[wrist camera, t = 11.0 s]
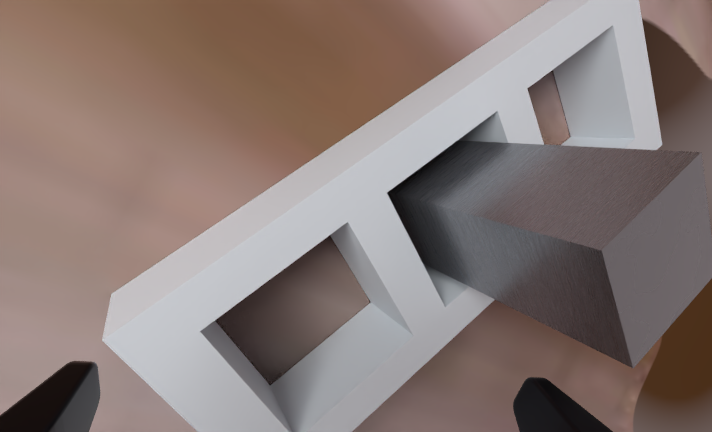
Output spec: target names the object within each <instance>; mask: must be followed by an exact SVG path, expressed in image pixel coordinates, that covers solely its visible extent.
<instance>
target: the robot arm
mask: <svg viewBox="0 0 712 432" xmlns="http://www.w3.org/2000/svg"><path fill="white" fill-rule="evenodd" d="M99 399H100V385H99V375H98V367H97V364H96V363H95V362H87V361H72V362H70V363H68V364H66V365H65V366H64V367H62V368H61V369H60V370H58V371H57V372H56V373H54V374H53V375H52V376H51V377H49V378H48V379H47V380H45V381H44V382H43V383H42V384H40V385H39V386H38V387H36V388H35V389H34V390H32V391H31V392H30V393H29V394H27V395H26V396H25V397H23V398H22V399H21V400H20V401H18V402H17V403H16V404H14V405H13V406H12V407H10V408H9V409H8V410H7V411H5V412H4V413H3V414H1V415H0V432H89V430H90V427H91V424H92V421H93V418H94V415H95V413H96V410H97V407H98V403H99ZM513 409H514V414H515V417H516V421H517V424H518V427H519V431H520V432H613V431H611V430H610V429H609V428H608V427H606V426H605V425H604V424H603V423H601V422H600V421H599V420H598V419H596V418H595V417H594V416H593V415H591V414H590V413H589V412H588V411H586V410H585V409H584V408H583V407H581V406H580V405H579V404H577V403H576V402H575V401H574V400H572V399H571V398H570V397H569V396H567V395H566V394H565V393H564V392H562V391H561V390H560V389H559V388H557V387H556V386H555V385H554V384H552V383H551V382H550V381H548V380H547V379H545V378H536V377H530V378H527V379H526V380H525V381H524V383H523V385H522V387H521V388H520V390H519V392H518V394H517V396H516V398H515V399H514V403H513Z"/></svg>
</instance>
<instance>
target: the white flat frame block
mask: <svg viewBox="0 0 712 432" xmlns="http://www.w3.org/2000/svg"><path fill="white" fill-rule="evenodd" d="M552 70H553V73H554V76H555V80H556V84H557V88H558V91H559V95H560V99H561V103H562V106H563V110H564V114H565V118H566V121H567V125H568V129H569V133H570V136H571V137H570V138H569V139H568V140H566V141H565V142H564V143H563V144H562V146H582V147H603V148H623V149H644V150H657V149H658V148H659V147H660V146H661V145H662V140H661V134H660V127H659V121H658V116H657V109H656V103H655V97H654V91H653V85H652V79H651V73H650V66H649V61H648V54H647V48H646V42H645V36H644V30H643V24H642V17H641V11H640V5H639V0H550V1H549V2H547V3H546V4H544V5H543V6H541V7H540V8H538V9H537V10H535V11H534V12H532V13H531V14H529V15H528V16H526V17H525V18H523V19H522V20H520V21H519V22H517V23H516V24H514V25H513V26H511V27H510V28H508V29H507V30H505V31H504V32H502V33H501V34H499V35H498V36H496V37H495V38H493V39H492V40H490V41H489V42H487V43H486V44H484V45H483V46H481V47H480V48H478V49H477V50H475V51H474V52H472V53H471V54H470V55H468V56H467V57H465V58H464V59H462V60H461V61H459V62H458V63H456V64H455V65H453V66H452V67H450V68H449V69H447V70H446V71H444V72H443V73H441V74H440V75H438V76H437V77H435V78H434V79H432V80H431V81H429V82H428V83H426V84H425V85H423V86H422V87H420V88H419V89H417V90H416V91H414V92H413V93H411V94H410V95H408V96H407V97H405V98H404V99H402V100H401V101H399V102H398V103H396V104H395V105H393V106H392V107H390V108H389V109H387V110H386V111H384V112H383V113H381V114H380V115H378V116H377V117H375V118H374V119H372V120H371V121H369V122H368V123H366V124H365V125H363V126H362V127H360V128H359V129H357V130H356V131H354V132H353V133H351V134H350V135H348V136H347V137H345V138H344V139H342V140H341V141H339V142H338V143H336V144H335V145H333V146H332V147H330V148H329V149H327V150H326V151H324V152H323V153H321V154H320V155H318V156H317V157H315V158H314V159H312V160H311V161H309V162H308V163H306V164H305V165H303V166H302V167H300V168H299V169H298V170H296V171H295V172H293V173H292V174H290V175H289V176H287V177H286V178H284V179H283V180H281V181H280V182H278V183H277V184H275V185H274V186H272V187H271V188H269V189H268V190H266V191H265V192H263V193H262V194H260V195H259V196H257V197H256V198H254V199H253V200H251V201H250V202H248V203H247V204H245V205H244V206H242V207H241V208H239V209H238V210H236V211H235V212H233V213H232V214H230V215H229V216H227V217H226V218H224V219H223V220H221V221H220V222H218V223H217V224H215V225H214V226H212V227H211V228H209V229H208V230H206V231H205V232H203V233H202V234H200V235H199V236H197V237H196V238H194V239H193V240H191V241H190V242H188V243H187V244H185V245H184V246H182V247H181V248H179V249H178V250H176V251H175V252H173V253H172V254H170V255H169V256H167V257H166V258H164V259H163V260H161V261H160V262H158V263H157V264H155V265H154V266H152V267H151V268H149V269H148V270H146V271H145V272H143V273H142V274H140V275H139V276H137V277H136V278H134V279H133V280H131V281H130V282H128V283H127V284H125V285H124V286H123V287H121V288H120V289H118V290H117V291H115V292H114V293H112V294H111V299H110V304H109V309H108V314H107V319H106V324H105V329H104V334H103V339H102V341H103V342H104V343H106V344H107V345H108V346H109V347H110V348H111V349H112V350H113V351H114V352H115V353H116V354H117V355H118V356H119V357H120V358H121V359H122V360H123V361H124V362H125V363H126V364H127V365H128V366H130V367H131V368H132V369H133V370H134V371H135V372H136V373H137V374H138V375H139V376H140V377H141V378H142V379H143V380H144V381H145V382H146V383H147V384H148V385H149V386H150V387H151V388H152V389H154V390H155V391H156V392H157V393H158V394H159V395H160V396H161V397H162V398H163V399H164V400H165V401H166V402H167V403H168V404H169V405H170V406H171V407H172V408H173V409H174V410H175V411H176V412H178V413H179V414H180V415H181V416H182V417H183V418H184V419H185V420H186V421H187V422H188V423H189V424H190V425H191V426H192V427H193V428H194V429H195V430H196V431H197V432H352V431H353V430H354V429H355V428H356V427H358V426H359V425H360V424H361V423H362V422H363V421H364V420H365V419H366V418H367V417H368V416H369V415H370V414H372V413H373V412H374V411H375V410H376V409H377V408H378V407H379V406H380V405H381V404H382V403H383V402H385V401H386V400H387V399H388V398H389V397H390V396H391V395H392V394H393V393H394V392H395V391H396V390H398V389H399V388H400V387H401V386H402V385H403V384H404V383H405V382H406V381H407V380H408V379H409V378H410V377H412V376H413V375H414V374H415V373H416V372H417V371H418V370H419V369H420V368H421V367H422V366H423V365H425V364H426V363H427V362H428V361H429V360H430V359H431V358H432V357H433V356H434V355H435V354H436V353H438V352H439V351H440V350H441V349H442V348H443V347H444V346H445V345H446V344H447V343H448V342H449V341H451V340H452V339H453V338H454V337H455V336H456V335H457V334H458V333H459V332H460V331H461V330H462V329H463V328H465V327H466V326H467V325H468V324H469V323H470V322H471V321H472V320H473V319H474V318H475V317H476V316H478V315H479V314H480V313H481V312H482V311H483V310H484V309H485V308H486V307H487V306H488V305H489V304H491V303H492V302H493V301H494V300H495V299H493V298H491V297H489V296H487V295H485V294H483V293H481V292H479V291H477V290H475V289H473V288H471V287H469V286H467V285H465V284H463V283H461V282H459V281H457V280H455V279H453V278H451V277H449V276H447V275H445V274H443V273H441V272H439V271H437V270H435V269H433V268H431V267H429V266H427V265H425V264H423V263H422V261H421V259H420V257H419V255H418V253H417V251H416V249H415V247H414V245H413V243H412V241H411V239H410V237H409V235H408V233H407V232H406V230H405V228H404V226H403V224H402V222H401V220H400V218H399V216H398V214H397V212H396V210H395V208H394V206H393V204H392V202H391V200H390V198H389V196H388V194H387V192H389V191H390V190H391V189H393V188H394V187H395V186H397V185H398V184H399V183H401V182H402V181H403V180H405V179H406V178H407V177H409V176H410V175H411V174H413V173H414V172H416V171H417V170H418V169H420V168H421V167H422V166H424V165H425V164H426V163H428V162H429V161H430V160H432V159H433V158H434V157H436V156H437V155H438V154H440V153H441V152H442V151H444V150H445V149H447V148H448V147H449V146H451V145H452V144H453V143H455V142H456V141H457V140H459V141H480V142H500V143H521V144H541V145H544V143H543V139H542V136H541V133H540V129H539V126H538V123H537V119H536V116H535V113H534V109H533V106H532V103H531V99H530V96H529V93H528V89H527V88H529V87H530V86H531V85H533V84H534V83H535V82H537V81H538V80H540V79H541V78H542V77H544V76H545V75H546V74H548V73H549V72H550V71H552ZM329 235H330V236H331V238H332V239H333V241H334V243H335V244H336V246H337V248H338V249H339V251H340V253H341V254H342V256H343V258H344V259H345V261H346V262H347V264H348V266H349V267H350V269H351V271H352V272H353V274H354V276H355V277H356V279H357V280H358V282H359V284H360V285H361V287H362V289H363V290H364V292H365V294H366V295H367V297H368V299H369V300H370V302H371V303H369V304H368V305H367V306H366V307H365V308H363V309H362V310H361V311H360V312H358V313H357V314H356V315H355V316H354V317H352V318H351V319H350V320H349V321H348V322H346V323H345V324H344V325H343V326H342V327H340V328H339V329H338V330H337V331H336V332H334V333H333V334H332V335H331V336H329V337H328V338H327V339H326V340H325V341H323V342H322V343H321V344H320V345H319V346H317V347H316V348H315V349H314V350H313V351H311V352H310V353H309V354H308V355H306V356H305V357H304V358H303V359H302V360H300V361H299V362H298V363H297V364H296V365H294V366H293V367H292V368H291V369H290V370H288V371H287V372H286V373H285V374H284V375H282V376H281V377H280V378H279V379H277V380H276V381H275V382H274V383H273V384H271V385H269V384H268V382H267V381H266V380H265V379H264V378H263V377H262V375H261V374H260V373H259V372H258V371H257V370H256V368H255V367H254V366H253V365H252V364H251V363H250V361H249V360H248V359H247V358H246V357H245V355H244V354H243V353H242V352H241V351H240V350H239V348H238V347H237V346H236V345H235V344H234V343H233V341H232V340H231V339H230V338H229V337H228V335H227V334H226V333H225V332H224V331H223V330H222V328H221V327H220V326H219V325H218V324H217V323H216V321H215V320H216V319H217V318H219V317H220V316H221V315H223V314H224V313H226V312H227V311H228V310H230V309H231V308H232V307H234V306H235V305H236V304H238V303H239V302H240V301H242V300H243V299H244V298H246V297H247V296H248V295H250V294H251V293H252V292H254V291H255V290H257V289H258V288H259V287H261V286H262V285H263V284H265V283H266V282H267V281H269V280H270V279H271V278H273V277H274V276H275V275H277V274H278V273H279V272H281V271H282V270H283V269H285V268H286V267H288V266H289V265H290V264H292V263H293V262H294V261H296V260H297V259H298V258H300V257H301V256H302V255H304V254H305V253H306V252H308V251H309V250H310V249H312V248H313V247H314V246H316V245H317V244H319V243H320V242H321V241H323V240H324V239H325V238H327V237H328V236H329Z"/></svg>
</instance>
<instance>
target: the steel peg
mask: <svg viewBox="0 0 712 432" xmlns="http://www.w3.org/2000/svg"><path fill="white" fill-rule="evenodd" d="M387 194H388V196H389V198H390V200H391V202H392V204H393V206H394V208H395V210H396V212H397V214H398V216H399V218H400V220H401V222H402V224H403V226H404V228H405V230H406V232H407V233H408V235H409V237H410V239H411V241H412V243H413V245H414V247H415V249H416V251H417V253H418V255H419V257H420V259H421V261H422V263H423V264H425V265H427V266H429V267H431V268H433V269H435V270H437V271H439V272H441V273H443V274H445V275H447V276H449V277H451V278H453V279H455V280H457V281H459V282H461V283H463V284H465V285H467V286H469V287H471V288H473V289H475V290H477V291H479V292H481V293H483V294H485V295H487V296H489V297H491V298H493V299H495V300H497V301H499V302H501V303H503V304H505V305H507V306H509V307H511V308H513V309H515V310H517V311H519V312H521V313H523V314H525V315H527V316H529V317H531V318H533V319H535V320H537V321H539V322H541V323H543V324H545V325H547V326H549V327H551V328H553V329H555V330H557V331H559V332H561V333H563V334H565V335H567V336H569V337H571V338H573V339H575V340H577V341H579V342H581V343H583V344H585V345H587V346H589V347H591V348H593V349H595V350H597V351H599V352H601V353H603V354H605V355H607V356H609V357H611V358H613V359H615V360H617V361H619V362H621V363H623V364H625V365H627V366H629V367H631V368H634V367H635V366H636V365H637V363H638V362H639V361H640V360H641V359H642V358H643V357H644V355H645V354H646V353H647V352H648V351H649V350H650V349H651V347H652V346H653V345H654V344H655V343H656V342H657V340H658V339H659V338H660V337H661V336H662V335H663V334H664V332H665V331H666V330H667V329H668V328H669V327H670V325H671V324H672V323H673V322H674V321H675V320H676V319H677V317H678V316H679V315H680V314H681V313H682V312H683V311H684V309H685V308H686V307H687V306H688V305H689V304H690V302H691V301H692V300H693V299H694V298H695V297H696V296H697V294H698V293H699V292H700V291H701V290H702V288H703V287H704V286H705V285H706V284H707V283H708V282H709V280H710V279H711V278H712V236H711V228H710V220H709V211H708V203H707V194H706V187H705V178H704V170H703V161H702V154H701V152H683V151H664V150H644V149H623V148H603V147H582V146H562V145H541V144H521V143H500V142H480V141H459V140H457V141H456V142H455V143H453V144H452V145H451V146H449V147H448V148H447V149H445V150H444V151H442V152H441V153H440V154H438V155H437V156H436V157H434V158H433V159H432V160H430V161H429V162H428V163H426V164H425V165H424V166H422V167H421V168H420V169H418V170H417V171H416V172H414V173H413V174H411V175H410V176H409V177H407V178H406V179H405V180H403V181H402V182H401V183H399V184H398V185H397V186H395V187H394V188H393V189H391V190H390V191H389V192H387Z"/></svg>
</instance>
